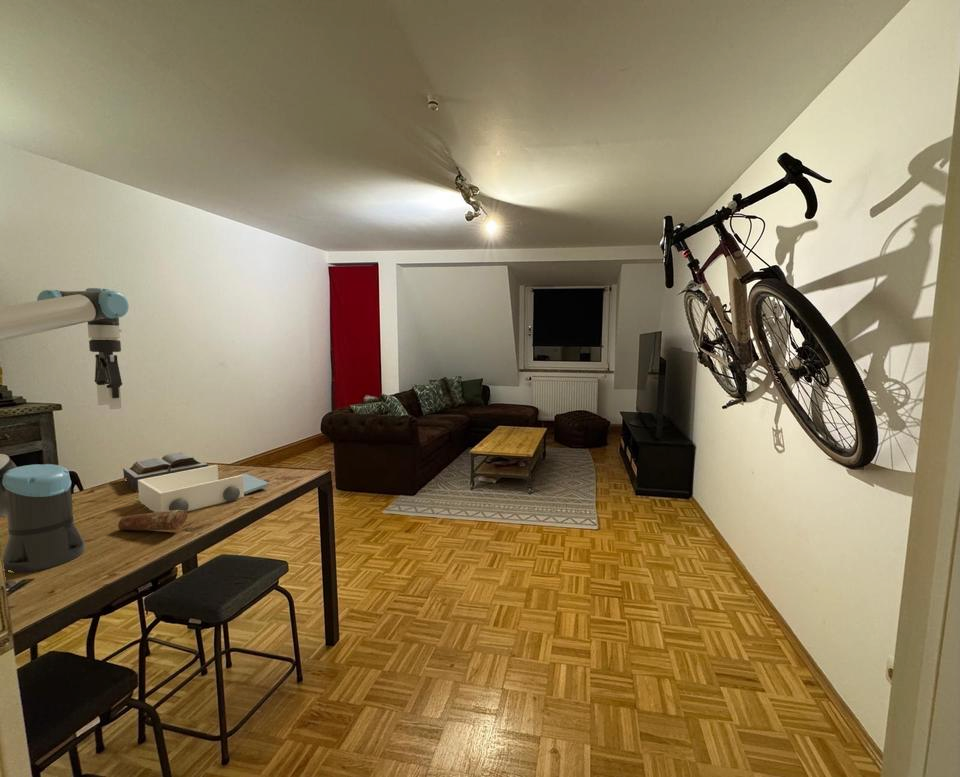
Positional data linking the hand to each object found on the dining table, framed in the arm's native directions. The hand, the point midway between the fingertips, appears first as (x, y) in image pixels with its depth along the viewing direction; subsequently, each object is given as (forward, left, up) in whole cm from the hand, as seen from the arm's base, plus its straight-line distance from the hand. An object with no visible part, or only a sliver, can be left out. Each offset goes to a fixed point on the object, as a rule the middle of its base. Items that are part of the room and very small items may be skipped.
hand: (109, 406), depth 139 cm
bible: (+22, +26, -35) cm, 49 cm away
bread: (+4, -28, -36) cm, 46 cm away
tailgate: (+33, -6, -34) cm, 47 cm away
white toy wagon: (+20, -6, -35) cm, 40 cm away
